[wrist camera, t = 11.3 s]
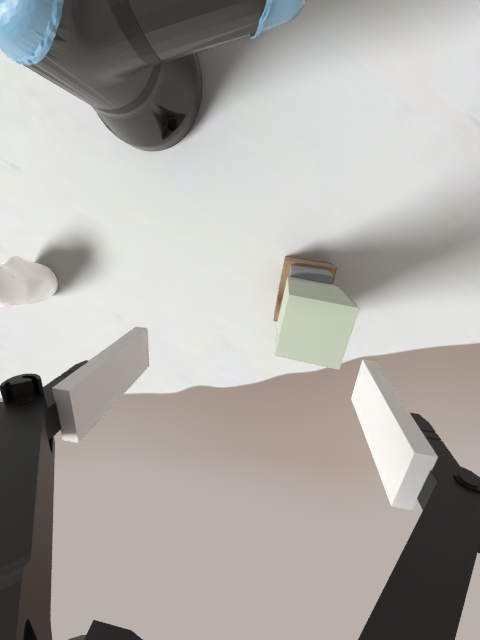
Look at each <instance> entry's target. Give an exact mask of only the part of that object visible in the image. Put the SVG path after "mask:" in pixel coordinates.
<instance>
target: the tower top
mask: <svg viewBox="0 0 480 640" xmlns="http://www.w3.org/2000/svg"><path fill="white" fill-rule="evenodd" d="M289 277H295V278H300V279H305V280H311V281H316V282H321V283H326V284H332V282H333V277H334V276H333V275H332V274H331V273H330V271H329V270H327V269H320V268H313V267H305V266H298V265H291V266H290V272H289Z"/></svg>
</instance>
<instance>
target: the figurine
mask: <svg viewBox="0 0 480 640" xmlns="http://www.w3.org/2000/svg"><path fill="white" fill-rule="evenodd" d="M57 288H58V282H57V278H56V276H55V274H54V273H53V271H52V270H51V269H50V268H48V267H47V266H45V265H42V264H38V263H34V262H31V261H28V260H26V259H24V258H21V257H17V256H15V257H11V258H9V259H7V260H6V261H5V262H4V263H2V264H1V265H0V306H14V305H27V304H32V303H36V302H39V301H42V300H45V299H47V298H49V297H51V296H52V295H53V294H54V293H55V292H56V291H57Z"/></svg>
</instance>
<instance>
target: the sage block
mask: <svg viewBox="0 0 480 640" xmlns="http://www.w3.org/2000/svg"><path fill="white" fill-rule="evenodd" d="M358 311H359V307H358V306H357V305H356V304H355V303H354V302H353V301H352V300H351V299H350V298H349V297H348V296H347V295H346V294H345V293H344V292H343V291H342V290H341V289H340V288H339V287H338V286H337V285H332V284H326V283H321V282H316V281H311V280H305V279H300V278H295V277H289V276H288V277H287V281H286V286H285V290H284V294H283V299H282V303H281V308H280V312H279V317H278V321H277V333H276V347H275V356H279V357H283V358H288V359H292V360H297V361H301V362H306V363H311V364H315V365H320V366H324V367H329V368H334V369H340V365H341V363H342V360H343V357H344V354H345V351H346V347H347V344H348V341H349V338H350V335H351V332H352V329H353V326H354V323H355V320H356V317H357V314H358Z"/></svg>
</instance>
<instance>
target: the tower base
mask: <svg viewBox="0 0 480 640" xmlns="http://www.w3.org/2000/svg"><path fill="white" fill-rule="evenodd" d="M291 265H298V266H305V267H313V268H320V269H327V270H329V271H330V273H331V274H332V275H333V276H335V273H336V269H337V268H336V267H335V266H333V265H332V264H331V263H324V262H318V261H311V260H305V259H298V258H292V257H285V259H284V264H283V270H282V275H281V280H280V286H279V291H278V296H277V302H276V307H275V313H274V321H278V317H279V312H280V308H281V303H282V299H283V294H284V290H285V286H286V281H287V277H288V276H289V272H290V266H291ZM333 280H334V277H333ZM332 284H333V282H332Z"/></svg>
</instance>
